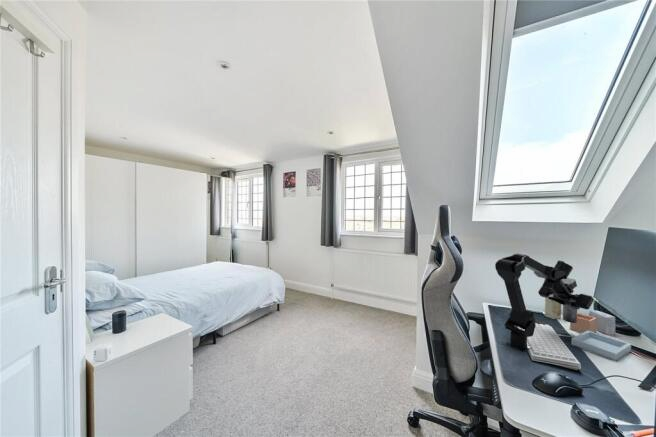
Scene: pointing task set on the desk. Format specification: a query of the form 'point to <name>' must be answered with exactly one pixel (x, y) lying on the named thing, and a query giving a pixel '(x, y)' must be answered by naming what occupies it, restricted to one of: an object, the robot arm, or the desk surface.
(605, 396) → the desk surface
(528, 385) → the desk surface
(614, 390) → the desk surface
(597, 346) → the trough
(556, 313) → the skincare box
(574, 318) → the block
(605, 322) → the medicine box
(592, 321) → the orange open box
